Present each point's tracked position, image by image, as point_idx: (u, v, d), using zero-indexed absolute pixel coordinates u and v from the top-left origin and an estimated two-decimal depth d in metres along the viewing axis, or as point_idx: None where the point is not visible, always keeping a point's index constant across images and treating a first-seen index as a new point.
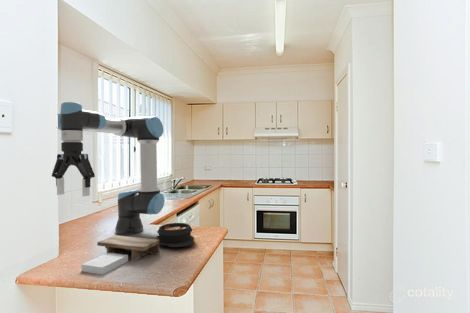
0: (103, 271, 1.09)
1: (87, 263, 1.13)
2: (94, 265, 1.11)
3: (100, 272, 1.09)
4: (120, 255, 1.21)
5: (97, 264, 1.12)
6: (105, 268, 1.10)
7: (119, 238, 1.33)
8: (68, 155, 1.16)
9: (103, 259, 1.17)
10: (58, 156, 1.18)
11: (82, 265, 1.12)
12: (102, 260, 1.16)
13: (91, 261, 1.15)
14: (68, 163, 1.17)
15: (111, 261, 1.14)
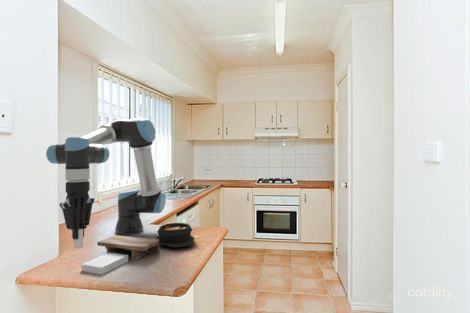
0: (103, 271, 1.09)
1: (87, 263, 1.13)
2: (94, 265, 1.11)
3: (100, 272, 1.09)
4: (120, 255, 1.21)
5: (97, 264, 1.12)
6: (105, 268, 1.10)
7: (119, 238, 1.33)
8: None
9: (103, 259, 1.17)
10: None
11: (82, 265, 1.12)
12: (102, 260, 1.16)
13: (91, 261, 1.15)
14: None
15: (111, 261, 1.14)
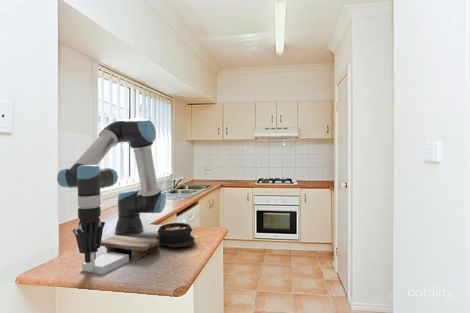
0: (103, 271, 1.09)
1: None
2: None
3: (100, 272, 1.09)
4: (121, 255, 1.21)
5: (97, 263, 1.12)
6: (105, 267, 1.10)
7: (119, 238, 1.33)
8: None
9: (103, 258, 1.17)
10: None
11: (83, 264, 1.12)
12: (102, 259, 1.16)
13: None
14: None
15: (111, 261, 1.15)
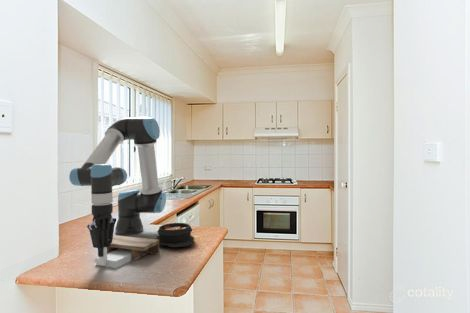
0: (116, 265, 1.15)
1: None
2: (108, 259, 1.16)
3: (114, 265, 1.15)
4: None
5: (110, 258, 1.18)
6: (118, 262, 1.16)
7: (119, 238, 1.33)
8: None
9: (116, 254, 1.23)
10: None
11: (97, 259, 1.18)
12: (115, 254, 1.22)
13: None
14: None
15: (124, 255, 1.20)
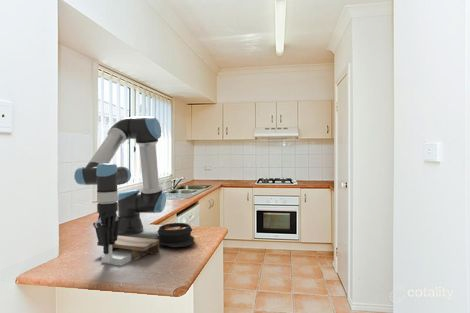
0: (122, 262, 1.17)
1: None
2: (113, 257, 1.19)
3: (119, 263, 1.17)
4: None
5: (116, 256, 1.20)
6: (124, 260, 1.18)
7: (119, 238, 1.33)
8: None
9: (120, 252, 1.25)
10: None
11: (102, 257, 1.20)
12: (120, 252, 1.24)
13: None
14: None
15: (128, 253, 1.23)
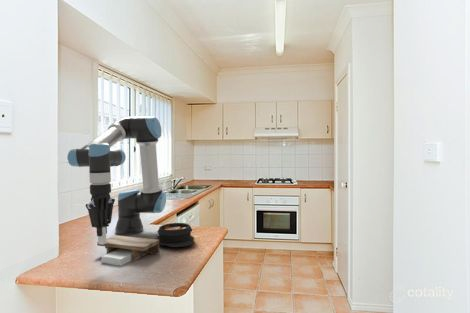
0: (122, 262, 1.17)
1: (107, 255, 1.21)
2: (113, 257, 1.19)
3: (119, 263, 1.17)
4: None
5: (116, 256, 1.20)
6: (124, 259, 1.18)
7: (119, 238, 1.33)
8: None
9: (121, 252, 1.25)
10: None
11: (102, 257, 1.20)
12: (120, 252, 1.24)
13: (110, 253, 1.23)
14: None
15: (128, 253, 1.23)
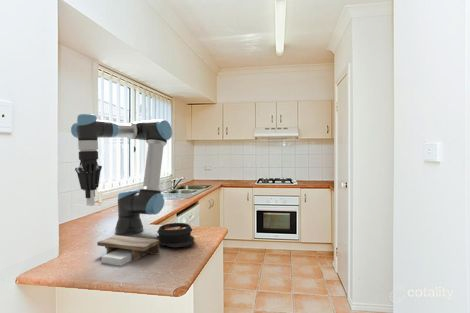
0: (122, 262, 1.17)
1: (107, 255, 1.21)
2: (113, 257, 1.19)
3: (119, 263, 1.17)
4: None
5: (116, 256, 1.20)
6: (124, 259, 1.18)
7: (119, 238, 1.33)
8: None
9: (120, 252, 1.25)
10: None
11: (102, 257, 1.20)
12: (120, 252, 1.24)
13: (110, 253, 1.23)
14: None
15: (128, 253, 1.23)
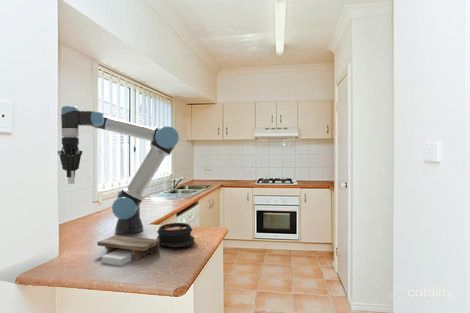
0: (122, 262, 1.17)
1: (107, 255, 1.21)
2: (113, 257, 1.19)
3: (119, 263, 1.17)
4: None
5: (116, 256, 1.20)
6: (124, 259, 1.19)
7: (119, 238, 1.33)
8: None
9: (120, 252, 1.25)
10: None
11: (102, 257, 1.20)
12: (120, 252, 1.24)
13: (110, 253, 1.23)
14: None
15: (129, 253, 1.23)
